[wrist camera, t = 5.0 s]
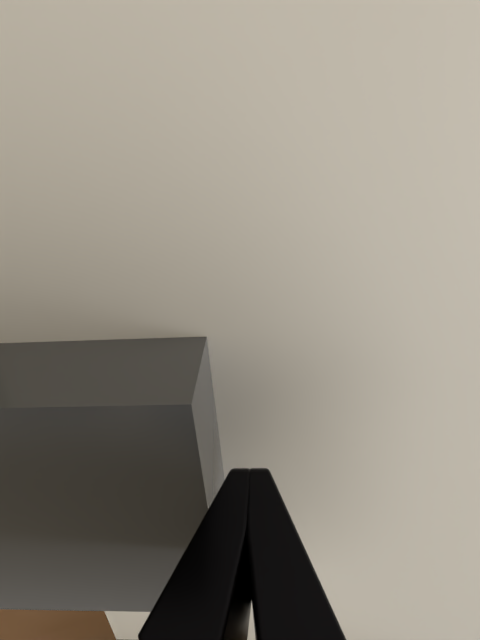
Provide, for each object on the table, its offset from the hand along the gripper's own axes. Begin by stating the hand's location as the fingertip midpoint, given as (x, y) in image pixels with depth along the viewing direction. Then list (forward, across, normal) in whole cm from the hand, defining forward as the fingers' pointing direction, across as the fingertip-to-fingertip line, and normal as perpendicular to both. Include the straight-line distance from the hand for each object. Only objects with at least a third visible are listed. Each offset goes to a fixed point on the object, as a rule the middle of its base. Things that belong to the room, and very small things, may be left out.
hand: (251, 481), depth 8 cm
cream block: (+3, -1, 0) cm, 3 cm away
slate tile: (+1, +5, 0) cm, 5 cm away
